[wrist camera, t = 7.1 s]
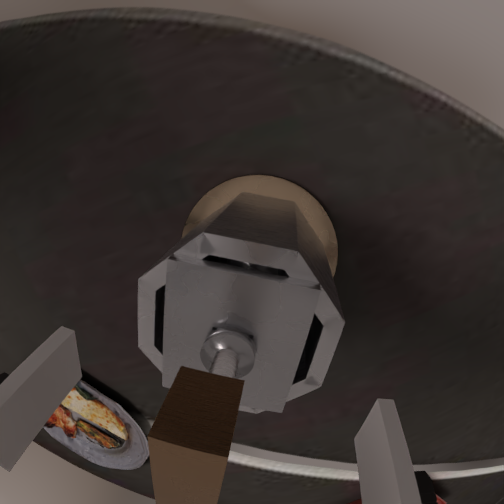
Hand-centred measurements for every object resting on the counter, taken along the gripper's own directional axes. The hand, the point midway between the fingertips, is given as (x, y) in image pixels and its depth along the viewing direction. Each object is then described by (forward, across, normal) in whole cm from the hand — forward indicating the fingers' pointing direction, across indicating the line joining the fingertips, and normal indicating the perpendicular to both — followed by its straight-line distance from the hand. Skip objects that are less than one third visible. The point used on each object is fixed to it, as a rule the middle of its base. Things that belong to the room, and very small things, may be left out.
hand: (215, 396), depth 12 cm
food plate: (+19, -23, -33) cm, 44 cm away
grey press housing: (+18, 0, 0) cm, 18 cm away
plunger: (+14, 0, 0) cm, 14 cm away
